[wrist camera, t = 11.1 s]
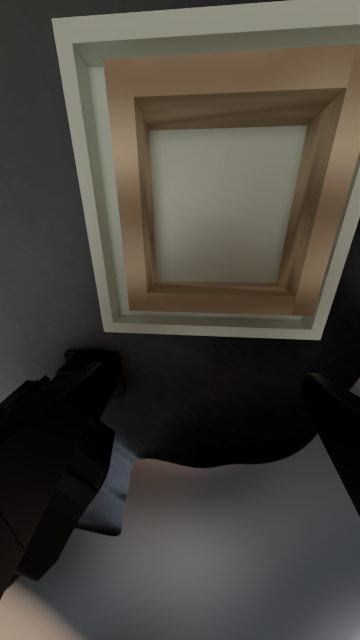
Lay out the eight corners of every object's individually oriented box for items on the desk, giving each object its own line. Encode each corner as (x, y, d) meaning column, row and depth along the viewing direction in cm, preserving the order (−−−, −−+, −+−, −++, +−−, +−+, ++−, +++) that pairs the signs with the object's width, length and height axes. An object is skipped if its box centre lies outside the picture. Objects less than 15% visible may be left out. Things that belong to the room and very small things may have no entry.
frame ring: (289, 299, 19) (312, 316, 15) (141, 296, 20) (129, 310, 16) (337, 94, 13) (391, 42, 10) (127, 103, 14) (102, 59, 10)
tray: (306, 327, 20) (320, 340, 18) (113, 321, 22) (104, 331, 20) (389, 34, 12) (432, -11, 10) (75, 53, 14) (51, 18, 11)
